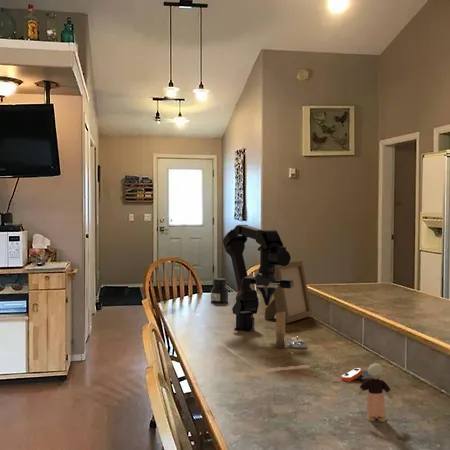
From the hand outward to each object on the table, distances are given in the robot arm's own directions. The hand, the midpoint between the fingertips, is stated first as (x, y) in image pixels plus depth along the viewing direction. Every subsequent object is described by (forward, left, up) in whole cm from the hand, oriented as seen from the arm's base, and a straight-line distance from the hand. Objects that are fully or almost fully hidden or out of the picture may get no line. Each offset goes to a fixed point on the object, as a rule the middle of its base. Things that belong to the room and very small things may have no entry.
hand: (267, 305), depth 195 cm
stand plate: (+14, -11, -12) cm, 22 cm away
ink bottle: (-44, +65, -12) cm, 79 cm away
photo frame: (-2, +37, -12) cm, 39 cm away
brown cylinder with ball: (+12, -13, -11) cm, 21 cm away
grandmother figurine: (+44, -65, -12) cm, 79 cm away
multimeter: (+34, -40, -13) cm, 54 cm away
